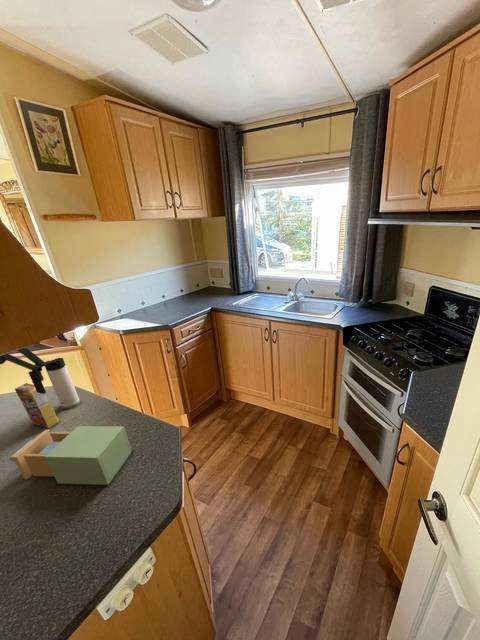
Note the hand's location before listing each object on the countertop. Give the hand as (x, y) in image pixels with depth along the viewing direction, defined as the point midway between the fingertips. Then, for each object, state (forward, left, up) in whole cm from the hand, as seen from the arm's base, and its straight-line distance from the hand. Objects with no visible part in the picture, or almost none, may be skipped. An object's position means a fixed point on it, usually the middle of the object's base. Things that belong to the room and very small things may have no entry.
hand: (15, 405), depth 77 cm
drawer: (+3, 0, -20) cm, 20 cm away
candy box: (-17, +20, -21) cm, 34 cm away
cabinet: (+16, 0, -21) cm, 27 cm away
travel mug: (-16, +32, -21) cm, 42 cm away
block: (+5, 0, -19) cm, 20 cm away
